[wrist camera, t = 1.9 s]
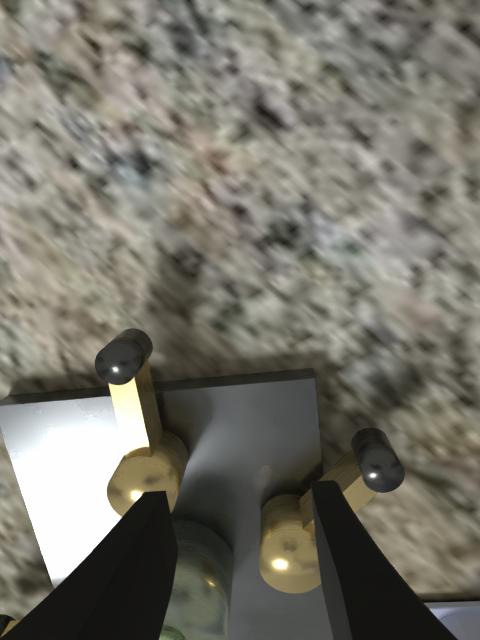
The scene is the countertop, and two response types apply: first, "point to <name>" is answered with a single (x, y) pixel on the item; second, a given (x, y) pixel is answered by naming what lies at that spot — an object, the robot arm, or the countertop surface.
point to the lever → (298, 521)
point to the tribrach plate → (182, 491)
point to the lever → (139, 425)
